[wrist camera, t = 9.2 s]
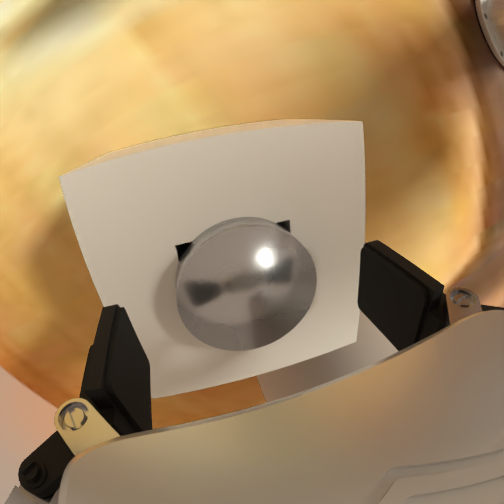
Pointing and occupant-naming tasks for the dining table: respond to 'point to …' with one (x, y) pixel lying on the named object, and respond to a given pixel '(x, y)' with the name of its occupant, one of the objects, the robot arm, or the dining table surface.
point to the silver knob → (244, 284)
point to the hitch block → (213, 212)
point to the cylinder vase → (328, 364)
